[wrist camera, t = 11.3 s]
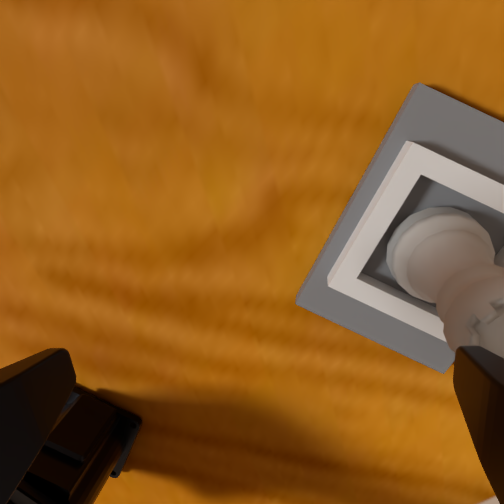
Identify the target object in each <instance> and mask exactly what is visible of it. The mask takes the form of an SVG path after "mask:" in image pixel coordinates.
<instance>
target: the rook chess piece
mask: <svg viewBox="0 0 504 504" xmlns="http://www.w3.org/2000/svg"><path fill="white" fill-rule="evenodd" d="M494 257H495V251H494V248H493V245H492V242H491V239H490V236H489V233H488V232H487V231H486V230H485V229H484V228H483V227H482V226H481V225H480V224H479V223H478V222H477V221H476V220H475V219H473V218H472V217H471V216H470V215H469V214H468V213H466V212H463V211H460V210H457V209H455V208H452V207H430V208H427V209H424V210H422V211H419V212H417V213H414V214H412V215H410V216H409V217H408V218H406V219H405V220H404V221H403V222H402V223H401V224H400V225H399V226H397V227H396V228H395V230H394V232H393V234H392V236H391V238H390V240H389V242H388V244H387V258H386V262H387V264H388V267H389V269H390V271H391V274H392V276H393V277H394V278H395V279H396V280H397V283H398V284H399V285H400V286H401V287H402V288H403V289H405V290H406V291H407V292H408V293H409V294H410V295H412V296H414V297H416V298H419V299H422V300H424V301H427V302H430V303H436V309H437V312H438V315H439V317H440V320H441V321H442V322H443V323H444V328H443V333H444V336H445V338H446V341H447V343H448V346H449V348H450V349H451V350H452V351H453V352H454V353H455V352H456V349H457V347H459V346H475V345H477V346H481V347H483V348H485V349H487V350H489V351H491V352H493V353H495V354H496V355H498V356H500V357H502V358H504V268H503V267H500V266H497V265H495V264H494Z"/></svg>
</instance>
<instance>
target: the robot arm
mask: <svg viewBox="0 0 504 504" xmlns="http://www.w3.org/2000/svg"><path fill="white" fill-rule="evenodd" d="M75 383H76V374H75V371H74V367H73V364H72V361H71V357H70V354H69V352H68V351H67V350H66V349H64V348H50V349H46V350H44V351H42V352H39V353H37V354H35V355H32V356H30V357H28V358H25V359H23V360H20V361H18V362H16V363H13V364H11V365H9V366H6V367H4V368H2V369H0V504H94V502H95V500H96V498H97V497H98V495H99V493H100V491H101V490H102V488H103V486H104V484H105V483H106V481H107V479H108V477H109V476H110V477H113V478H117V477H118V476H119V475H120V473H121V471H122V469H123V467H124V464H125V462H126V460H127V457H128V455H129V453H130V450H131V448H132V445H133V443H134V441H135V438H136V436H137V434H138V431H139V429H140V427H141V424H142V420H141V419H140V418H139V417H138V416H136V415H134V414H131V413H129V412H127V411H125V410H123V409H121V408H119V407H117V406H114V405H112V404H110V403H108V402H106V401H104V400H102V399H100V398H97V397H95V396H93V395H91V394H89V393H87V392H85V391H82V390H80V389H78V388H76V387H74V386H75ZM453 384H454V389H455V393H456V396H457V398H458V401H459V404H460V407H461V410H462V413H463V415H464V418H465V421H466V424H467V427H468V429H469V432H470V435H471V438H472V441H473V444H474V446H475V449H476V452H477V454H478V457H479V460H480V462H481V465H482V467H483V469H484V471H485V473H486V476H487V478H488V480H489V482H490V484H491V486H492V488H493V490H494V492H495V494H496V496H497V499H498V501H499V503H500V504H504V358H502V357H500V356H498V355H496V354H495V353H493V352H491V351H489V350H487V349H485V348H483V347H481V346H477V345H475V346H459V347H457V349H456V352H455V363H454V375H453Z"/></svg>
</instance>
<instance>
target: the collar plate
mask: <svg viewBox="0 0 504 504" xmlns="http://www.w3.org/2000/svg"><path fill="white" fill-rule="evenodd" d="M430 207H452V208H455V209H457V210H460V211H463V212H466V213H468V214H469V215H470V216H471V217H472V218H473V219H475V220H476V221H477V222H478V223H479V224H480V225H481V226H482V227H483V228H484V229H485V230H486V231H487V232H488V233H489V236H490V239H491V242H492V245H493V248H494V251H495V257H494V264H495V265H497V266H500V267H503V268H504V122H502V121H500V120H498V119H495V118H493V117H491V116H489V115H487V114H485V113H483V112H481V111H479V110H476V109H474V108H472V107H470V106H468V105H466V104H464V103H462V102H460V101H457V100H455V99H453V98H451V97H449V96H447V95H445V94H443V93H440V92H438V91H436V90H434V89H432V88H430V87H428V86H426V85H424V84H421V83H417V84H414V85H413V87H412V89H411V91H410V92H409V94H408V96H407V98H406V100H405V101H404V103H403V105H402V107H401V109H400V110H399V112H398V114H397V116H396V117H395V119H394V121H393V123H392V125H391V126H390V128H389V130H388V132H387V134H386V135H385V137H384V139H383V141H382V143H381V144H380V146H379V148H378V150H377V152H376V153H375V155H374V157H373V159H372V161H371V162H370V164H369V166H368V168H367V170H366V171H365V173H364V175H363V177H362V179H361V180H360V182H359V184H358V186H357V188H356V189H355V191H354V193H353V195H352V197H351V198H350V200H349V202H348V204H347V206H346V207H345V209H344V211H343V213H342V215H341V216H340V218H339V220H338V222H337V224H336V225H335V227H334V229H333V231H332V232H331V234H330V236H329V238H328V240H327V241H326V243H325V245H324V247H323V249H322V250H321V252H320V254H319V256H318V258H317V259H316V261H315V263H314V265H313V267H312V268H311V270H310V272H309V274H308V276H307V277H306V279H305V281H304V283H303V285H302V286H301V288H300V290H299V292H298V294H297V295H296V303H295V304H296V305H298V306H301V307H303V308H305V309H307V310H309V311H311V312H313V313H315V314H318V315H320V316H322V317H324V318H326V319H328V320H330V321H332V322H335V323H337V324H339V325H341V326H343V327H345V328H347V329H349V330H352V331H354V332H356V333H358V334H360V335H362V336H364V337H366V338H369V339H371V340H373V341H375V342H377V343H379V344H381V345H383V346H385V347H388V348H390V349H392V350H394V351H396V352H398V353H400V354H402V355H405V356H407V357H409V358H411V359H413V360H415V361H417V362H419V363H422V364H424V365H426V366H428V367H430V368H432V369H434V370H436V371H439V372H441V373H443V374H444V373H445V372H446V370H447V369H448V368H449V367H450V366H451V364H452V363H453V362H454V361H455V353H454V352H453V351H452V350H451V349H450V348H449V346H448V343H447V341H446V338H445V336H444V333H443V328H444V323H443V322H442V321H441V320H440V317H439V315H438V312H437V309H436V303H430V302H427V301H424V300H422V299H419V298H416V297H414V296H412V295H410V294H409V293H408V292H407V291H406V290H405V289H403V288H402V287H401V286H400V285H399V284H398V283H397V280H396V279H395V278H394V277H393V276H392V274H391V271H390V269H389V267H388V264H387V262H386V258H387V244H388V242H389V240H390V238H391V236H392V234H393V232H394V230H395V228H396V227H397V226H399V225H400V224H401V223H402V222H403V221H404V220H405V219H406V218H408V217H409V216H410V215H412V214H414V213H417V212H419V211H422V210H424V209H427V208H430Z"/></svg>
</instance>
